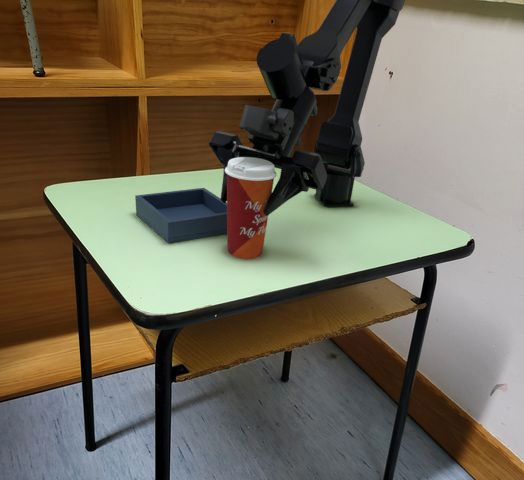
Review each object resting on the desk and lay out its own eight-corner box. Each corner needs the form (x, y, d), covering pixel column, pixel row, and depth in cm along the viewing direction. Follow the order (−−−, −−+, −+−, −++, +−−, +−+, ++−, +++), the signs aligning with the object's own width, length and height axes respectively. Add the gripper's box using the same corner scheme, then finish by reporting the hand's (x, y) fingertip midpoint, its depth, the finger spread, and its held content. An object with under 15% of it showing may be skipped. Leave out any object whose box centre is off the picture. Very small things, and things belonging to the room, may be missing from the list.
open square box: (203, 205, 102) (204, 187, 100) (240, 231, 93) (241, 211, 91) (136, 214, 95) (135, 195, 93) (168, 243, 86) (167, 222, 84)
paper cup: (251, 266, 82) (259, 174, 74) (211, 252, 85) (214, 162, 77) (277, 251, 87) (287, 164, 79) (239, 237, 90) (244, 152, 83)
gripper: (217, 73, 79) (170, 163, 77) (330, 93, 72) (281, 193, 70) (243, 122, 89) (202, 203, 87) (345, 145, 82) (302, 233, 80)
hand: (243, 207), depth 81 cm, fingers closed on paper cup, 7 cm apart
